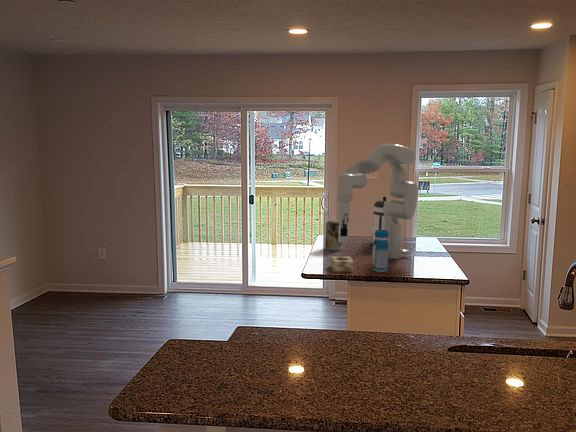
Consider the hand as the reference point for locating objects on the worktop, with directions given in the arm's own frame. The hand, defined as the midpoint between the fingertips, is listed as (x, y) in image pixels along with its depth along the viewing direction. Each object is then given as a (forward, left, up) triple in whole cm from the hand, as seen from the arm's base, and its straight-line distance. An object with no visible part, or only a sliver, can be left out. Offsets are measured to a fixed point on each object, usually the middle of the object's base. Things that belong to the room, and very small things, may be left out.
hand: (343, 234), depth 252 cm
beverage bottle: (-19, +2, -18) cm, 26 cm away
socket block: (0, 0, -17) cm, 17 cm away
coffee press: (-33, -56, -18) cm, 67 cm away
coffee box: (-2, -43, -18) cm, 47 cm away
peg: (0, 0, -3) cm, 3 cm away
